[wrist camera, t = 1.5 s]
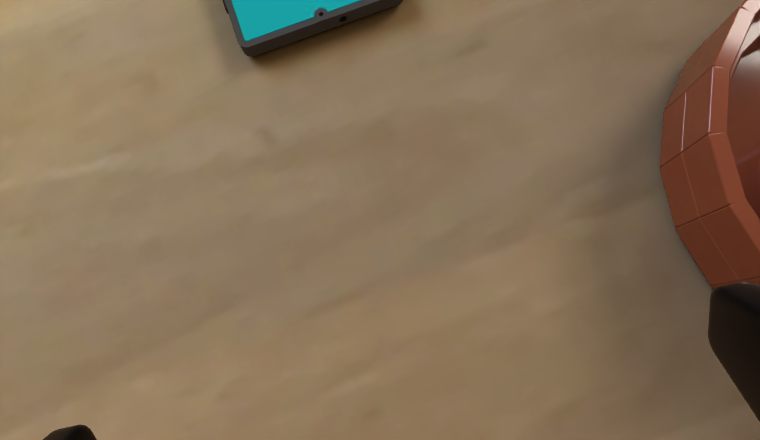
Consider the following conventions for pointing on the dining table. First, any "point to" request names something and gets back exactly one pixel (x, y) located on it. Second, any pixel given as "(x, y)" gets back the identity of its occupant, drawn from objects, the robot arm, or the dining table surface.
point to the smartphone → (292, 19)
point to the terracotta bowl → (718, 151)
